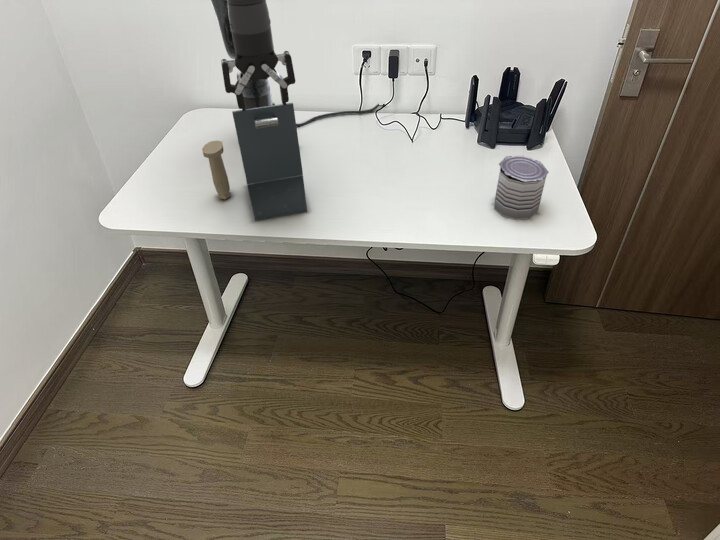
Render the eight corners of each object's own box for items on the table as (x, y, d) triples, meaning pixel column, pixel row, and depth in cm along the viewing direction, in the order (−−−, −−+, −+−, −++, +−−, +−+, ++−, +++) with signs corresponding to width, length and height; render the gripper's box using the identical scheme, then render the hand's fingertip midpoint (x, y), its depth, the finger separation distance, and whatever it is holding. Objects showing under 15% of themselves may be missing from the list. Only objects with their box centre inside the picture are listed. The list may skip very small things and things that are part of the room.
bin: (248, 186, 146) (240, 151, 138) (296, 178, 148) (291, 143, 141) (254, 221, 134) (247, 185, 126) (307, 211, 136) (302, 175, 129)
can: (501, 190, 140) (508, 150, 132) (544, 201, 136) (554, 160, 128) (486, 212, 133) (493, 171, 125) (530, 225, 129) (540, 183, 121)
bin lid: (232, 111, 116) (233, 119, 112) (292, 102, 118) (296, 109, 114) (246, 182, 126) (248, 192, 122) (302, 173, 129) (306, 182, 124)
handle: (236, 190, 144) (225, 141, 134) (229, 203, 140) (217, 153, 130) (219, 189, 145) (207, 140, 135) (212, 203, 140) (199, 153, 130)
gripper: (284, 15, 104) (294, 95, 115) (211, 24, 101) (228, 104, 112) (290, 27, 98) (300, 109, 109) (213, 37, 96) (231, 119, 107)
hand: (264, 106), depth 111 cm, fingers open, 8 cm apart
